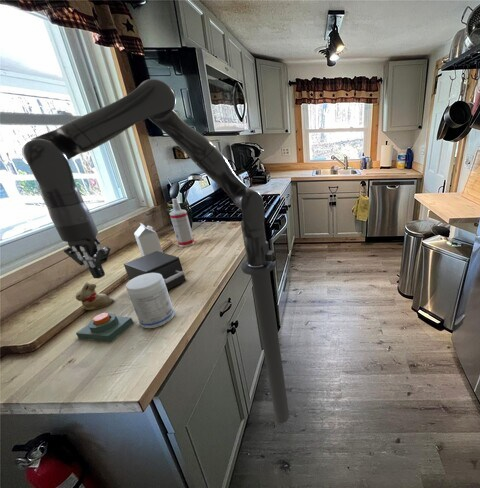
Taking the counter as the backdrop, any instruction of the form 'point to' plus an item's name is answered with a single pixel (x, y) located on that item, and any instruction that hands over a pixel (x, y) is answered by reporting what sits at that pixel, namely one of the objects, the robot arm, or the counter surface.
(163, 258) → the small drawer cabinet
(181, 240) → the spray bottle
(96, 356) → the counter surface
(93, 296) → the chocolate bunny
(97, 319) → the button
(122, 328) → the block
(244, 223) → the robot arm
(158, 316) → the supplement tub
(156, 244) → the milk carton
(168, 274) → the drawer
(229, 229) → the counter surface
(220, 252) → the counter surface
